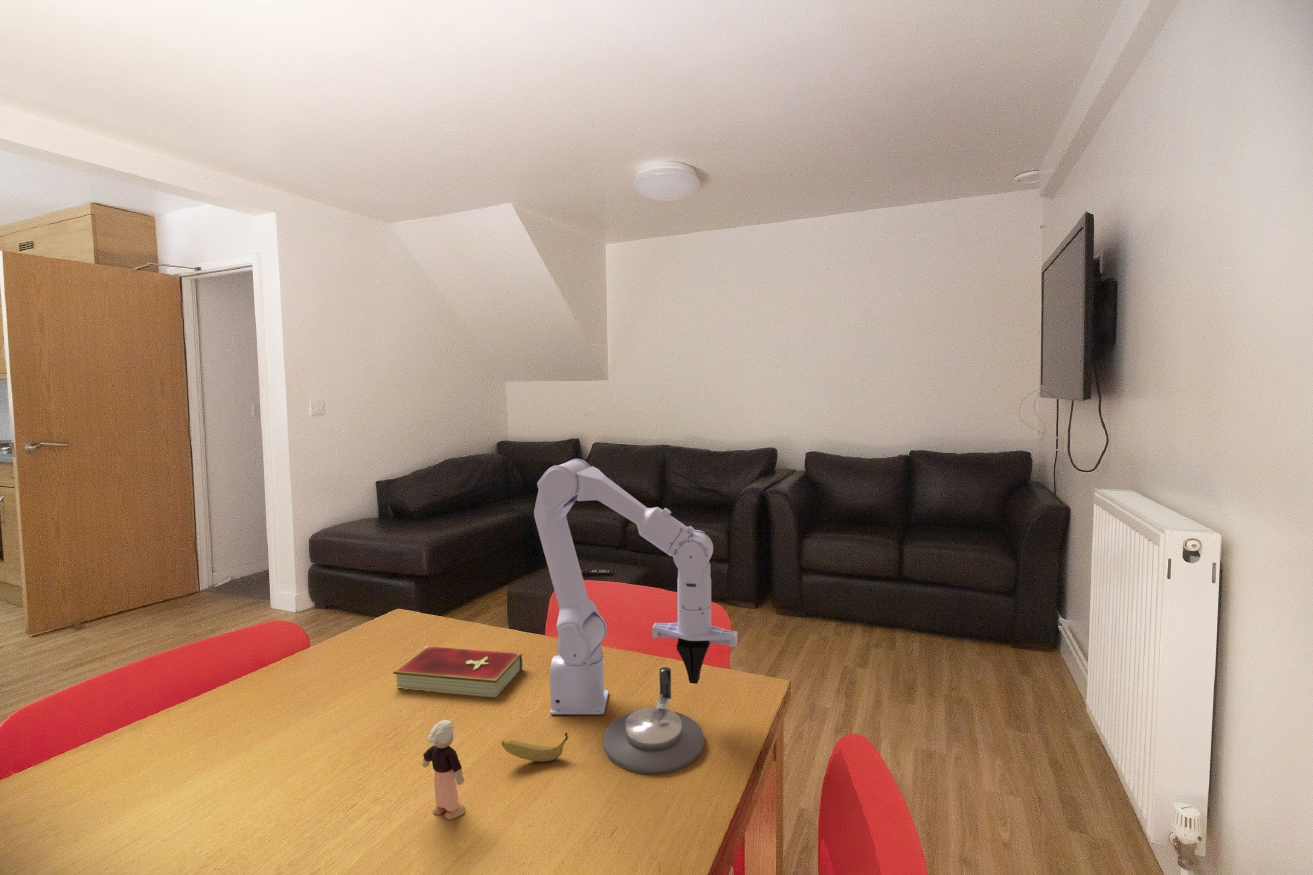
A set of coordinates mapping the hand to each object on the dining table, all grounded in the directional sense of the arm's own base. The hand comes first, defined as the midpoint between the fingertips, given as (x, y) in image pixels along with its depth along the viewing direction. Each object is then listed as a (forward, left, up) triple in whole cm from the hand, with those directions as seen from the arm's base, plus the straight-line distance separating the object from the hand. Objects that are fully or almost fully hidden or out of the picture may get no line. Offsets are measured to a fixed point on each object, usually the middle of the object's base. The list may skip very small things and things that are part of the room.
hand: (694, 680), depth 108 cm
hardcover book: (-46, +14, -7) cm, 48 cm away
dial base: (-7, -8, -7) cm, 12 cm away
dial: (-6, -5, -5) cm, 10 cm away
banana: (-25, -13, -7) cm, 29 cm away
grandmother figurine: (-35, -24, -7) cm, 43 cm away
